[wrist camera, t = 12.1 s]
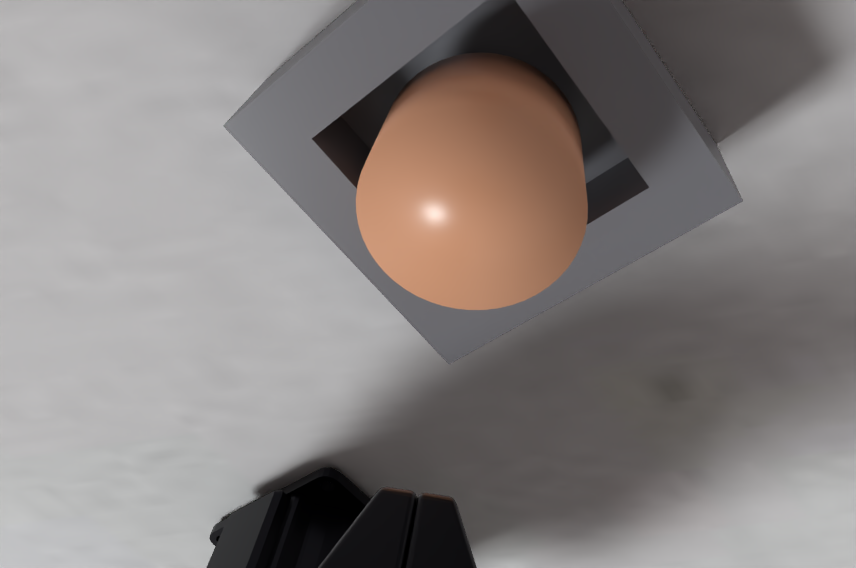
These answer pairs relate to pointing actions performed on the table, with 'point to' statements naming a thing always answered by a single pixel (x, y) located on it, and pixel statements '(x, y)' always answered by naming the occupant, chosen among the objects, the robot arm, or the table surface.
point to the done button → (475, 184)
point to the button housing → (535, 45)
